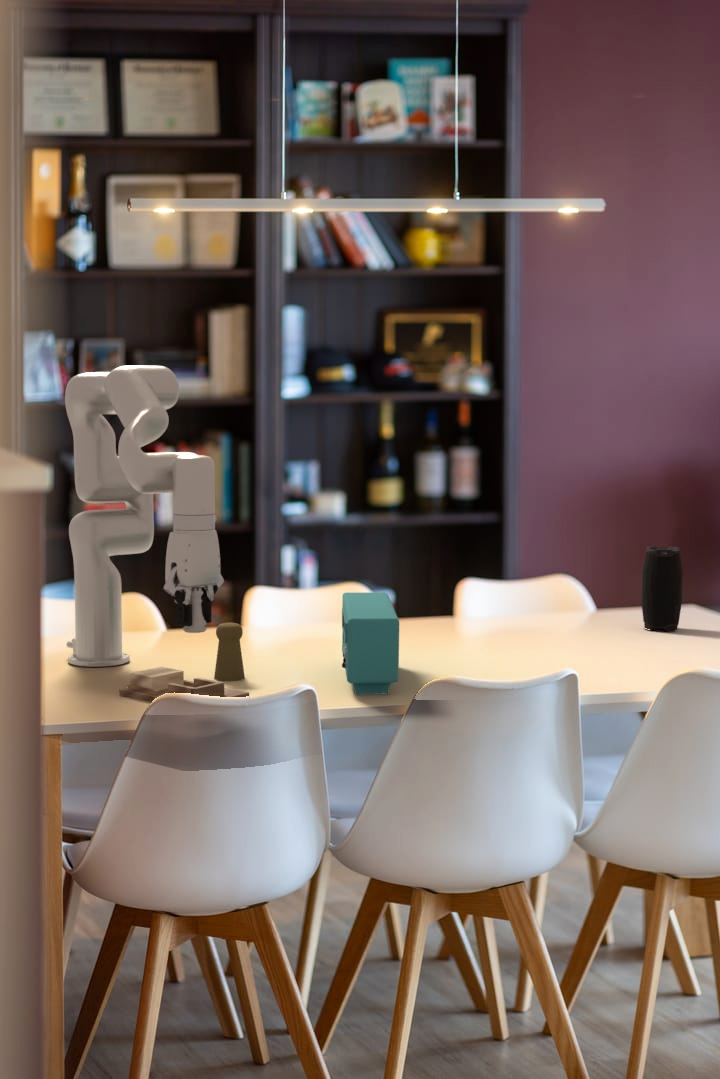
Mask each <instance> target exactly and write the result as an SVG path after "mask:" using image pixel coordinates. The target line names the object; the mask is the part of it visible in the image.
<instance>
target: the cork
mask: <svg viewBox="0 0 720 1079" xmlns="http://www.w3.org/2000/svg"><path fill="white" fill-rule="evenodd" d="M215 635H216V637H217V639H218V645H217V653H216V661H215V668H214V676H213V677H214V678H213V679H214V681H218V682H239V681H243V680H245V679H246V677H245V669H244V662H243V655H242V648H241V647H242V646H241V641H240V640H241V638H242V637H243V628H242V626H241V624H239V623H236V622H222V623H220V624H218V625H217V627H216V629H215Z"/></svg>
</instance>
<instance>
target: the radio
mask: <svg viewBox="0 0 720 1079" xmlns="http://www.w3.org/2000/svg"><path fill="white" fill-rule="evenodd" d="M341 627H342V628H341V629H342V633H341V634H342V641H341V642H342V646H341V652H342V657H343V659H342V664H341V668H344V670H345V675H346V681H347V683H349V684H352V686H353V689H354V693H355V695H380V694H381V693H386V694H389V692H390V687H391V684H397V683H398V681H399V675H400V674H399V669H400V668H399V666H400V664H399V662H400V658H399V657H400V620H399V617H398V616H397V613H396V610H395V607H394V605H393V603H392V600H391V598H390V596H389V594H388V593H387V592H344V593H343V594H342V608H341Z"/></svg>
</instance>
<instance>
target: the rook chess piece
mask: <svg viewBox="0 0 720 1079" xmlns="http://www.w3.org/2000/svg"><path fill="white" fill-rule="evenodd" d="M202 594H203V591H202V590H201V587H198V586H197V587H192V588H191V595H190V602H189V604H192V626H184V627H182V628H181V629H182V630H183V631H184V632H185V633H190V634H195V633H196V634H198V633H205V632H206V631H207V630H208V628H207V627H206V625H207V624H208V623H206V621H205V620H204V617H203V614H202V608H201V602H202V600H201V596H202Z"/></svg>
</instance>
